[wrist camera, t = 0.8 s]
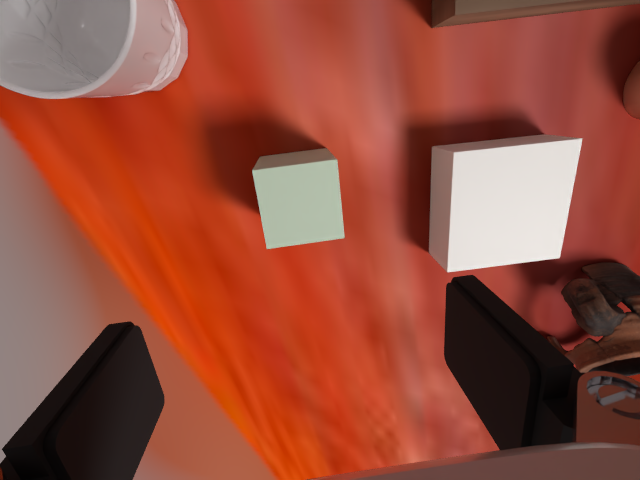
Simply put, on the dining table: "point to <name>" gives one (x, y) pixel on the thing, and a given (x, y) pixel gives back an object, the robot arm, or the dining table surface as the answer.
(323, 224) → the green block
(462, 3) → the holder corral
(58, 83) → the white cup
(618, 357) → the pottery mug
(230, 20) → the dining table surface
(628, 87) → the glossy beige egg
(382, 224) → the dining table surface
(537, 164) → the base slab
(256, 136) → the dining table surface
